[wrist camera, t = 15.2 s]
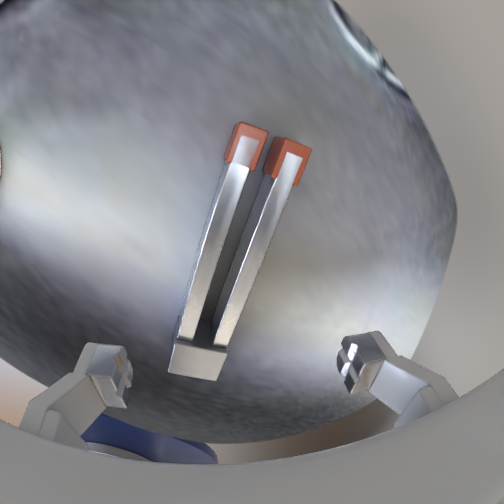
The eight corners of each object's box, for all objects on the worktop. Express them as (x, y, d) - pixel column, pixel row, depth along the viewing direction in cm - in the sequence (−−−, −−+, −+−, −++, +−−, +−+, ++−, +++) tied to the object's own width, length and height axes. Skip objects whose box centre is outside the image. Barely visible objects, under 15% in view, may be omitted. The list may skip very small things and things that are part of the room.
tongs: (235, 123, 13) (240, 120, 11) (297, 146, 14) (315, 149, 11) (169, 344, 19) (166, 372, 16) (216, 353, 19) (217, 381, 17)
